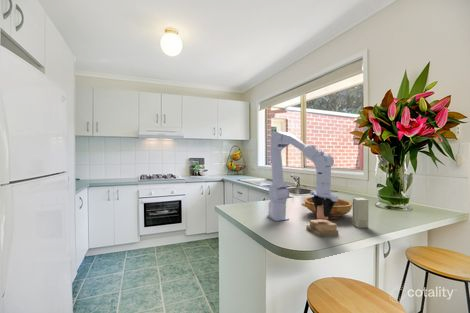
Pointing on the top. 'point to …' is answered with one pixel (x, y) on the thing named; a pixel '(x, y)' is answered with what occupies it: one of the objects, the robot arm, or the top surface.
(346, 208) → the wooden bowl
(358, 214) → the box
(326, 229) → the top block
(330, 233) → the bottom block
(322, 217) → the peach capsule
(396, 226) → the top surface
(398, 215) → the top surface
